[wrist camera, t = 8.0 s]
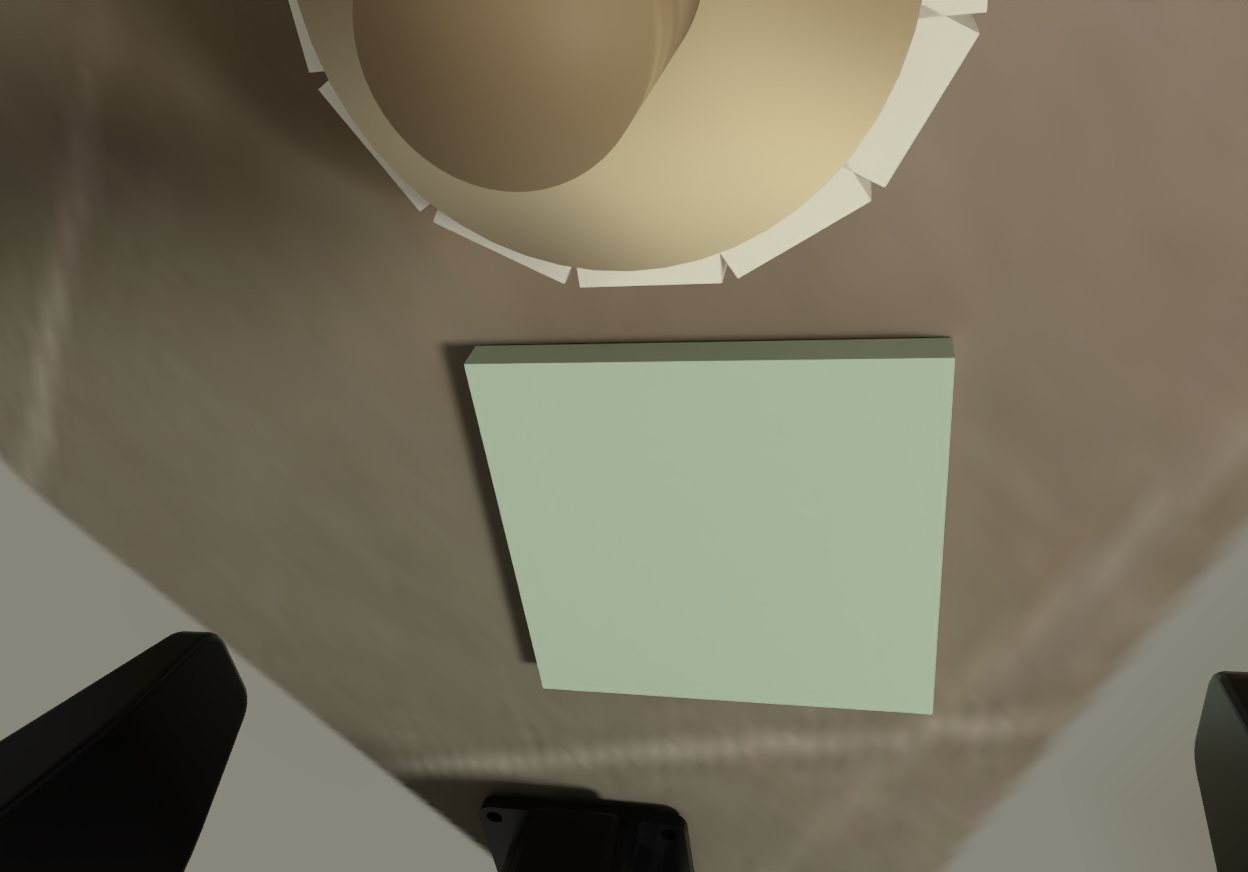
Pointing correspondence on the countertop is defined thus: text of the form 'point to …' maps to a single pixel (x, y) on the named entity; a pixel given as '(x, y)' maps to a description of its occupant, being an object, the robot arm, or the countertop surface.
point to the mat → (726, 514)
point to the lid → (614, 112)
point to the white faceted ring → (911, 101)
